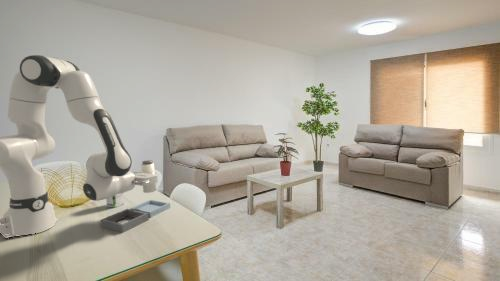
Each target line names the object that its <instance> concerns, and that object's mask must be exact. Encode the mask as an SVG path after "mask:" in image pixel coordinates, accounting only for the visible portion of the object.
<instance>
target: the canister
mask: <svg viewBox="0 0 500 281" xmlns="http://www.w3.org/2000/svg"><path fill="white" fill-rule="evenodd" d="M141 162H142V163H141V164H140V165H141V172H142V173H150V174H151V173H156V170H155V169H156V168H155V163H154V162H153V160H151V159H150V160H149V159H148V160H143V161H141ZM156 184H157V183H154V184H150V185H146V186H142V191H143V193H146V194H149V193H154V192H157V185H156Z"/></svg>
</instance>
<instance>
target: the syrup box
mask: <svg viewBox="0 0 500 281" xmlns="http://www.w3.org/2000/svg"><path fill="white" fill-rule="evenodd" d="M105 200H106V207H109V208H117V207H120V206H122V205H124V204H125V203H124V193H122V194H116V195H115V196H113V197H110V198H107V199H105Z"/></svg>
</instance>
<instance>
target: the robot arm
mask: <svg viewBox="0 0 500 281" xmlns="http://www.w3.org/2000/svg"><path fill="white" fill-rule="evenodd" d="M52 88H55V89H60V90H61V91H62V93H63V96H64V98H65V102H66V106H67V108H68V111H69V113H70V115H71V117H72V118H73V119H74V120H75V121H77V122H79V123H81V124H83V125H88V126H90V127H92V128H94V129H95V130H96V131H97V133H98V134H99V137H100V139H101V142H102V144H103V147H104V150H105V152H99V153H95V154H91V156H89V157H88V159H87V161H86V163H85V164H86V167H85V168H86V179H85V182H84V183H83V186H82V190H83V194H84V195H85V196H86V198H88V199H89V200H91V201H94V202H95V201H102V200H106V199H107V198H110V197H113V196H115V195H116V194H122V193H123V194H124V193H127V192H129V191H132V190H134V188H135V186H142V187H143V186H146V185H150V184H154V183H156V184H157V183H158V181H159V180H158V173H157V172H155V173H151V174H150V173H142V171H133V170H132V171H131V168H132V156H131V155H130V153H129V151H128V150H127V149H126V148H125V146H124V144H123V142H122V139H121V137H120V134H119V133H118V130H117V128H116V125H115V123H114V121H113V119H112V117H111V115H110V114H109V112H108V111H107V110H105V108H104V106H103V105H102V101H101V100H100V99H101V98H100V96H99V93H98V92H99V91H98V90H97V87H96V85H95V83H94V80H93V78H92V77H91V75H90V74H89V73H88V72H86V71H83V70H80V69H79V67H78V66H77V65H75V63H72V62H71V61H68V60H64V59H61V58H58V57H52V56H43V55H40V54H38V55H37V54H35V55H28V56H26V57H24V58H22V60H21V62H20V64H19V71H18V72H16V73H15V75H14V76H13V80H12V82H11V86H10V90H9V98H8V106H7V107H8V108H7V118H8V119H9V121H10V122H11V123H14V124H15V125H16V128H17V134H13V135H4V136H1V137H0V170H1V171H2V173H3V174H4V175H5V177H6V179H7V183H8V188H9V193H10V197H9V203H8V204H9V208H8V209H7V210H6V211H5V212H4V213H3V215H2V218H0V232H1V233H2V234H3V235H4V236H5V237H7V236H16V235H28V234H32V235H36V234H40V233H42V232H45V231H47V230H49V229H51V228H53V227H54V226H55V224H56V223H57V222H58V221H59V217H56V214H55V210H54V206H53V203H51V202H50V201H49V194H48V192H47V188H46V179H45V174H44V173H43V172H41V171H40V170H37V169H36V168H35V167H34V165H33V163H32V161H34V160H38V159H43V158H45V157H47V156H49V155H51V154H52V153H54V151H55V149H56V141H55V140H54V138H53V137H52V135H50V134H49V133H48V129H47V128H46V127H47V126H46V120H45V117H46V116H45V115H46V109H47V108H46V105H47V99H48V98H47V97H48V92H49V90H50V89H52ZM2 224H4V225H2ZM9 233H10V234H9ZM35 233H36V234H35ZM5 234H9V235H5ZM28 236H29V235H28Z"/></svg>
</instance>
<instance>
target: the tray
mask: <svg viewBox="0 0 500 281" xmlns="http://www.w3.org/2000/svg"><path fill="white" fill-rule="evenodd" d="M170 208H171V203H170V202H166V201H161V200H156V199H155V200H154V199H149V200H146V201H145V202H142V203H140V204H137V205H135V206H132V207H130V208H129V209H130V210H135V211H140V212H145V213H148V218H152V217H155V216H156V215H158V214H160V212H161V213H162V212H165V211H167V210H169V209H170Z"/></svg>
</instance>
